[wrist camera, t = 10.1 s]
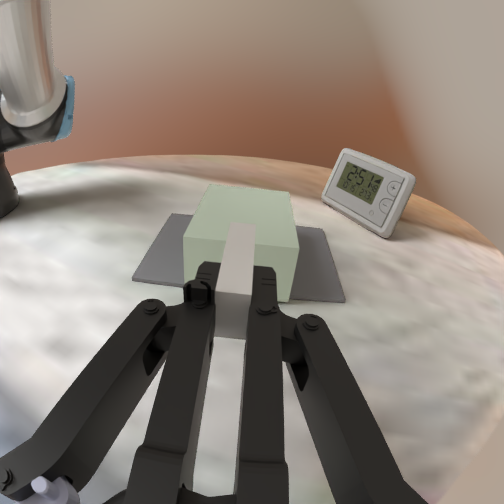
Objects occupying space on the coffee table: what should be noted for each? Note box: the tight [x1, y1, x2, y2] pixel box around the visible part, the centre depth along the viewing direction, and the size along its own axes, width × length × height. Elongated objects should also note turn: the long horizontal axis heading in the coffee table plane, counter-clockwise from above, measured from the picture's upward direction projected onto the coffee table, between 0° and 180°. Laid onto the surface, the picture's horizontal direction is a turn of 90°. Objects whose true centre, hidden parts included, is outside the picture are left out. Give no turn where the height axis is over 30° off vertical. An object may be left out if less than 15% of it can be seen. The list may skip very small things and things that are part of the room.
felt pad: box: [132, 214, 345, 303], centre depth 37 cm, size 16×22×1 cm
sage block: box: [183, 184, 299, 302], centre depth 33 cm, size 6×10×14 cm
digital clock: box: [322, 148, 416, 238], centre depth 48 cm, size 16×9×11 cm, turn 19°
